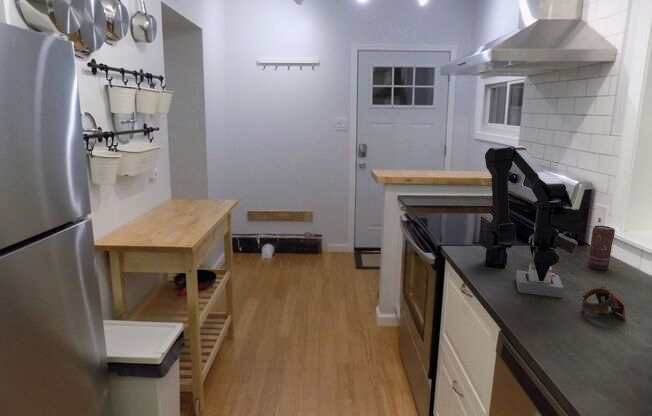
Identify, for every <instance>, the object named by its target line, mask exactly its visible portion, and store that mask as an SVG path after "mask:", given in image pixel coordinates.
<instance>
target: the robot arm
mask: <svg viewBox="0 0 652 416" xmlns="http://www.w3.org/2000/svg"><path fill="white" fill-rule="evenodd" d="M484 159H485V166H486V167H485V168H486V169H487V170H488V172H489V174H490V175H491V195H492V196H491V198H492V199H491V202H492V206H491V207H492V219H491V220H490V222H489V224H488V226H487V233H486V234H485V235H484V236H483V237H482V238H481V239H480V243H481V246H482V247H483V248H485V258H484V262H483V263H484V264H483V265H484V267H489V268H490V267H491V268H492V267H493V268H499V269H505V268H506V265H508V264H507V263H508V255H509V254H508V251H507V249H511V248H512V247H513V244H514V242H516V236H517V225H516V223H513V222H512V221H511V219H510V213H509V212H510V210H509V205H510V204H509V185H508V184H509V180H508V179H509V177H508V176H509V175H508V174H509V173H510V171H511V169H512V168H513V163H514V165H515V166H516V167H517V168H518V170H520V172H521V173H522V174H523V175H524V177H525V178H526V179H527V181H529V182H530V184H531V191H532V193H533V195H534V197H535V198H536V201H534V202H532V204H531V206H532V207H535V208H536V215H535V223H534V225H533V230H534V232H533V233H532V234H531V235H529V238H528V243H529V245H528V246H529V249H530V253H531V257H532V260H533V263H534V264H535V268H536V271H537V275H538V278H539V281H544V279H545V277H546V274H547V272H548V270H549V268H550V266H551V267H552V266H554V265H557V264H558V263H560V254H559V252H558V251H557V249H558V248H559V249H562V250H564V251H566V252H567V253H569V254H571V255H572V254H573V253H574V252H575V250H576V248H577V247H578V245H579V244H578V241H577V240H575V239H574V238H572V235H576V234H578V233H580V232H581V231H582V229H583V228H584V225H585V219H584V217H583V215H582V214H580V208H576V207H573V204H572V199H571V198H570V196H569V194H568V190H567V186H566V184H565V183H564V182H563V181H562V180H561V179H559V178H557V177H556V176H554V175H551V174H549V173H548V172H546V171H545V170H544V169H543V168H542V167H541V165H540V164H539V163H538V162H537V161H536V160H535V159H534V158H533V157H532V156H531V155H530V153H529V152H528V151H527V148H526V146H523V145H511V146H509V147H508V146H507V147H490V148H488V149H487V151H486V152H485V155H484ZM559 231H562V232H563V233H560V232H559Z"/></svg>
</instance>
